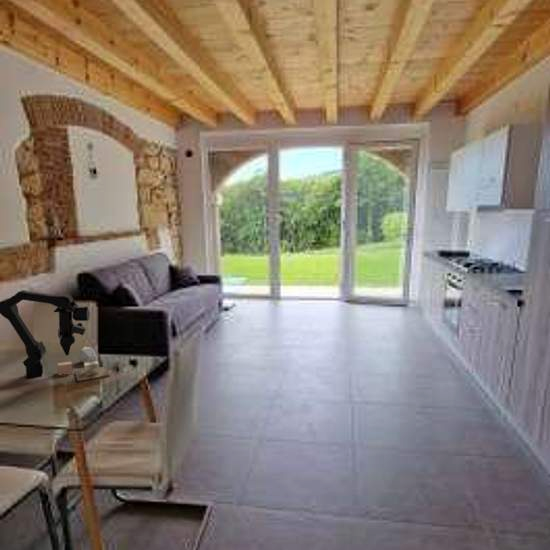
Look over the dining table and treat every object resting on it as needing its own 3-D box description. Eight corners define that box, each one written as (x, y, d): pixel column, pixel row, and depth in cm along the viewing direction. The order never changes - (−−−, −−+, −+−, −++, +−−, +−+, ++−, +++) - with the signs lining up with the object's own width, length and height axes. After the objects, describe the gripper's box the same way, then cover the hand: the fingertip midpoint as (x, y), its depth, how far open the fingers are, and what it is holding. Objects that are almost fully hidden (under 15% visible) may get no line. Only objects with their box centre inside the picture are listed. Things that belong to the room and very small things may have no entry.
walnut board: (77, 381, 191) (77, 380, 190) (74, 373, 201) (74, 371, 201) (109, 376, 198) (109, 374, 198) (105, 368, 208) (105, 366, 208)
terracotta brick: (58, 375, 197) (57, 365, 196) (58, 373, 201) (57, 363, 200) (72, 373, 200) (71, 363, 200) (71, 370, 204) (71, 361, 203)
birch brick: (85, 375, 196) (85, 365, 195) (84, 372, 199) (84, 362, 199) (99, 373, 199) (98, 363, 198) (97, 370, 202) (97, 360, 202)
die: (78, 367, 210) (90, 353, 209) (70, 356, 213) (81, 341, 213) (91, 368, 217) (102, 354, 216) (83, 357, 221) (94, 343, 220)
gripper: (86, 324, 192) (87, 356, 195) (82, 314, 208) (82, 344, 211) (59, 326, 187) (60, 359, 189) (57, 316, 203) (58, 347, 205)
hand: (66, 352), depth 199 cm, fingers open, 9 cm apart
